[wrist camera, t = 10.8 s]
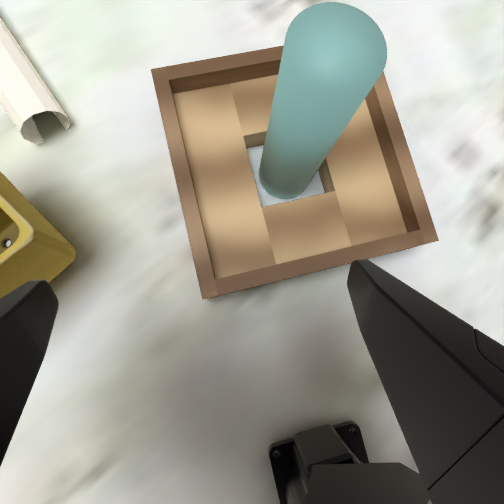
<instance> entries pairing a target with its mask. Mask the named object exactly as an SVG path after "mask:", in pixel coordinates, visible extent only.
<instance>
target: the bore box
mask: <svg viewBox="0 0 504 504" xmlns="http://www.w3.org/2000/svg"><path fill="white" fill-rule="evenodd" d="M283 48H284V46H279V47H273V48H268V49H262V50H257V51H251V52H245V53H240V54H234V55H228V56H223V57H217V58H212V59H206V60H200V61H195V62H189V63H184V64H178V65H172V66H167V67H161V68H155V69H151V72H152V77H153V81H154V85H155V90H156V94H157V99H158V103H159V108H160V112H161V117H162V121H163V125H164V130H165V134H166V139H167V143H168V148H169V152H170V157H171V161H172V166H173V170H174V174H175V179H176V183H177V188H178V192H179V197H180V201H181V206H182V210H183V215H184V219H185V223H186V228H187V232H188V237H189V241H190V246H191V250H192V255H193V259H194V264H195V268H196V272H197V277H198V281H199V286H200V290H201V295H202V299H208V298H212V297H216V296H220V295H224V294H228V293H232V292H236V291H240V290H244V289H248V288H252V287H256V286H260V285H264V284H268V283H272V282H276V281H280V280H284V279H288V278H292V277H296V276H300V275H304V274H308V273H312V272H316V271H320V270H324V269H328V268H332V267H337V266H341V265H345V264H349V263H352V262H353V261H354V260H360V259H369V258H373V257H377V256H381V255H385V254H389V253H393V252H397V251H401V250H405V249H409V248H413V247H416V246H420V245H424V244H428V243H431V242H435V241H439V240H438V237H437V234H436V230H435V227H434V224H433V221H432V218H431V215H430V212H429V209H428V206H427V203H426V200H425V197H424V194H423V191H422V188H421V185H420V182H419V179H418V176H417V173H416V170H415V167H414V163H413V160H412V157H411V154H410V151H409V148H408V145H407V142H406V139H405V136H404V133H403V130H402V127H401V124H400V121H399V118H398V115H397V112H396V109H395V106H394V103H393V100H392V96H391V93H390V90H389V87H388V84H387V81H386V78H385V75H384V72H382V74H381V75H380V77H379V78H378V80H377V81H376V83H375V84H374V86H373V87H372V89H371V90H370V92H369V93H368V95H367V96H366V98H365V99H364V101H363V102H362V104H361V105H360V107H359V108H358V110H357V111H356V113H355V114H354V116H353V117H352V119H351V120H350V122H349V123H348V125H347V126H346V128H345V129H344V131H343V132H342V134H341V135H340V137H339V138H338V140H337V141H336V143H335V144H334V146H333V147H332V149H331V150H330V152H329V153H328V155H327V156H326V158H325V159H324V161H323V163H322V164H321V166H320V167H319V169H318V170H319V173H320V177H321V180H322V183H323V187H324V190H325V193H324V194H319V195H315V196H310V197H306V198H301V199H297V200H293V201H288V202H284V203H279V204H275V205H270V206H266V207H261V203H260V199H259V196H258V192H257V188H256V184H255V180H254V176H253V172H252V169H251V165H250V161H249V157H248V153H247V149H246V148H249V147H254V146H259V145H264V143H265V138H266V133H267V128H268V123H269V118H270V113H271V108H272V103H273V98H274V93H275V88H276V83H277V78H278V73H279V68H280V63H281V58H282V53H283Z"/></svg>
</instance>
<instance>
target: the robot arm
mask: <svg viewBox="0 0 504 504" xmlns="http://www.w3.org/2000/svg"><path fill="white" fill-rule="evenodd" d="M347 286H348V290H349V293H350V297H351V300H352V304H353V307H354V311H355V314H356V318H357V321H358V325H359V328H360V331H361V334H362V336H363V339H364V341H365V343H366V346H367V348H368V351H369V353H370V355H371V358H372V360H373V363H374V365H375V367H376V370H377V372H378V375H379V377H380V379H381V382H382V384H383V387H384V389H385V391H386V394H387V396H388V398H389V401H390V403H391V406H392V408H393V410H394V413H395V415H396V418H397V420H398V422H399V425H400V427H401V430H402V432H403V434H404V437H405V439H406V442H407V444H408V446H409V449H410V451H411V454H412V456H413V458H414V461H415V463H416V466H417V468H418V470H419V473H420V474H418V473H416V472H415V471H413V470H411V469H410V468H408V467H406V466H405V465H403V464H401V463H369V461H368V457H367V453H366V450H365V446H364V442H363V439H362V435H361V431H360V428H359V426H358V425H357V424H356V423H355V422H352V421H349V422H345V423H342V424H338V425H335V426H331V425H329V424H328V425H324V426H321V427H318V428H314V429H311V430H307V431H304V432H301V433H297V434H296V435H295V436H294V438H291V439H288V440H285V441H281V442H278V443H274V444H272V445H271V446H270V447H269V457H270V461H271V466H272V470H273V474H274V478H275V483H276V487H277V491H278V495H279V499H280V504H504V346H503V345H501V344H500V343H498V342H496V341H495V340H493V339H491V338H490V337H488V336H487V335H485V334H484V333H482V332H480V331H479V330H477V329H474V328H473V327H472V326H471V325H469V324H468V323H466V322H465V321H463V320H461V319H460V318H458V317H457V316H455V315H454V314H452V313H450V312H449V311H447V310H446V309H444V308H443V307H441V306H439V305H438V304H436V303H435V302H433V301H432V300H430V299H428V298H427V297H425V296H424V295H422V294H421V293H419V292H417V291H416V290H414V289H413V288H411V287H410V286H408V285H406V284H405V283H403V282H402V281H400V280H399V279H397V278H395V277H394V276H392V275H391V274H389V273H388V272H386V271H384V270H383V269H381V268H380V267H378V266H377V265H375V264H373V263H372V262H370V261H369V260H366V259H360V260H354V261H353V262H352V264H351V267H350V271H349V275H348V280H347ZM58 305H59V304H58V299H57V297H56V295H55V293H54V292H53V290H52V288H51V286H50V284H49V283H48V282H47V281H46V280H43V279H42V280H30V281H27V282H26V283H24V284H23V285H21V286H19V287H18V288H16V289H15V290H13V291H12V292H10V293H8V294H7V295H5V296H4V297H2V298H0V466H1V464H2V461H3V459H4V456H5V454H6V451H7V449H8V446H9V444H10V441H11V439H12V436H13V434H14V431H15V429H16V426H17V424H18V421H19V419H20V416H21V414H22V411H23V409H24V406H25V404H26V401H27V399H28V396H29V394H30V391H31V389H32V387H33V384H34V382H35V379H36V377H37V374H38V372H39V369H40V367H41V364H42V361H43V359H44V356H45V353H46V350H47V347H48V343H49V339H50V336H51V332H52V329H53V325H54V321H55V318H56V314H57V310H58ZM352 427H354V432H352V433H350V431H349V430H350V428H352ZM275 450H278V451H279V454H278V455H274V454H273V452H274V451H275Z"/></svg>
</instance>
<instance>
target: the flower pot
mask: <svg viewBox="0 0 504 504" xmlns="http://www.w3.org/2000/svg"><path fill="white" fill-rule="evenodd" d="M5 240H10V241H11V245H10V246H9V247H5V246H4V242H5ZM75 258H76V251H75V249H74V247H73V246H72V245H71V244H70V243H69V242H68V241H67V240H66V239H65V238H64V237H63V236H62V235H61V234H60V233H59V232H58V231H57V230H56V229H55V228H54V227H53V226H52V225H51V224H50V223H49V222H48V221H47V220H46V219H45V218H44V217H43V216H42V215H41V214H40V213H39V212H38V211H37V210H36V208H35V207H34V206H33V205H32V204H31V203H30V202H29V201H28V200H27V199H26V198H25V197H24V196H23V195H22V194H21V193H20V192H19V191H18V190H17V189H16V187H15V186H14V185H13V184H12V183H11V182H10V181H9V180H8V179H7V178H6V177H5V176H4V175H3V174H2V173H1V172H0V298H2V297H4V296H5V295H7V294H8V293H10V292H12V291H13V290H15V289H16V288H18V287H19V286H21V285H23V284H24V283H26V282H27V281H30V280H42V279H43V280H46V281H47V282H48V283H49V282H50V281H52V280H53V279H54V278H55V277H56V276H57V275H58V274H60V273H61V272H62V271H63V270H64V269H65V268H66V267H68V266H69V265H70V264H71V263H72V262H73V261H74V260H75Z"/></svg>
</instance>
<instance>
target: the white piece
mask: <svg viewBox="0 0 504 504" xmlns="http://www.w3.org/2000/svg"><path fill="white" fill-rule="evenodd" d="M0 103H1V105H2V106H3V108H4V109H5V111H6V112H7V114H8V115H9V117H10V118H11V120H12V121H13V123H14V124H15V126H16V127H17V129H18V130H19V132H20V133H21V135H22V136H23V138H24V139H26V140H28V141H30V142H32V143H45V142H44V140H43V139H42V137H41V135H40V133H39V131H38V128H37V126H36V124H35V122H34V119H33V117H32V115H33V114H37V113H40V112H44V111H53V113H54V114H55V115H56V117H57V118H58V119H59V121H60V122H61V123H62V125H63V126H64V127H65V129H66V130H67V129H68V127H69V125H70V124H69V120H68V117H67V115H66V114H65V112H64V111H63V109H62V108H61V107H60V105H59V104H58V102H57V101H56V99H55V98H54V96H53V95H52V93H51V92H50V90H49V89H48V87H47V86H46V84H45V83H44V81H43V80H42V78H41V77H40V75H39V74H38V72H37V71H36V70H35V68H34V67H33V65H32V64H31V62H30V61H29V59H28V58H27V56H26V55H25V53H24V52H23V50H22V49H21V47H20V46H19V44H18V43H17V41H16V40H15V38H14V37H13V35H12V34H11V33H10V31H9V30H8V28H7V27H6V25H5V24H4V22H3V21H2V19H1V18H0Z"/></svg>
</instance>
